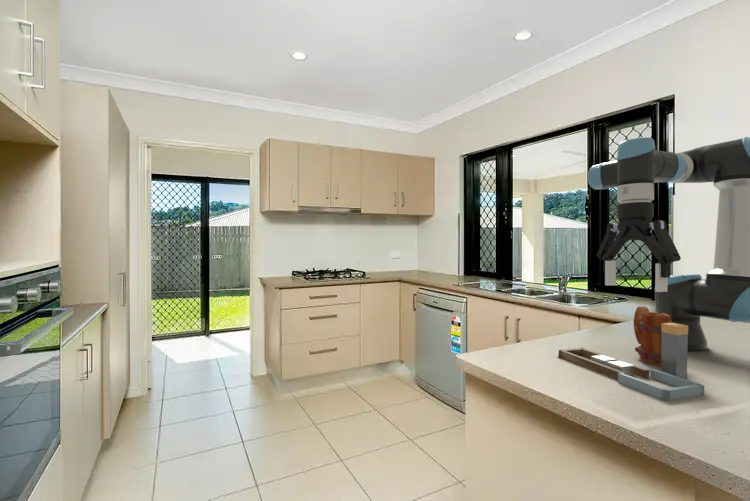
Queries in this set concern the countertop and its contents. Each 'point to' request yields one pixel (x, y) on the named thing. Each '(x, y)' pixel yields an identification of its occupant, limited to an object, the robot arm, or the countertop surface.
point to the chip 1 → (602, 359)
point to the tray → (680, 391)
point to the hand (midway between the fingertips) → (634, 288)
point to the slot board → (584, 360)
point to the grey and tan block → (674, 349)
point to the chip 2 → (622, 367)
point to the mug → (649, 334)
